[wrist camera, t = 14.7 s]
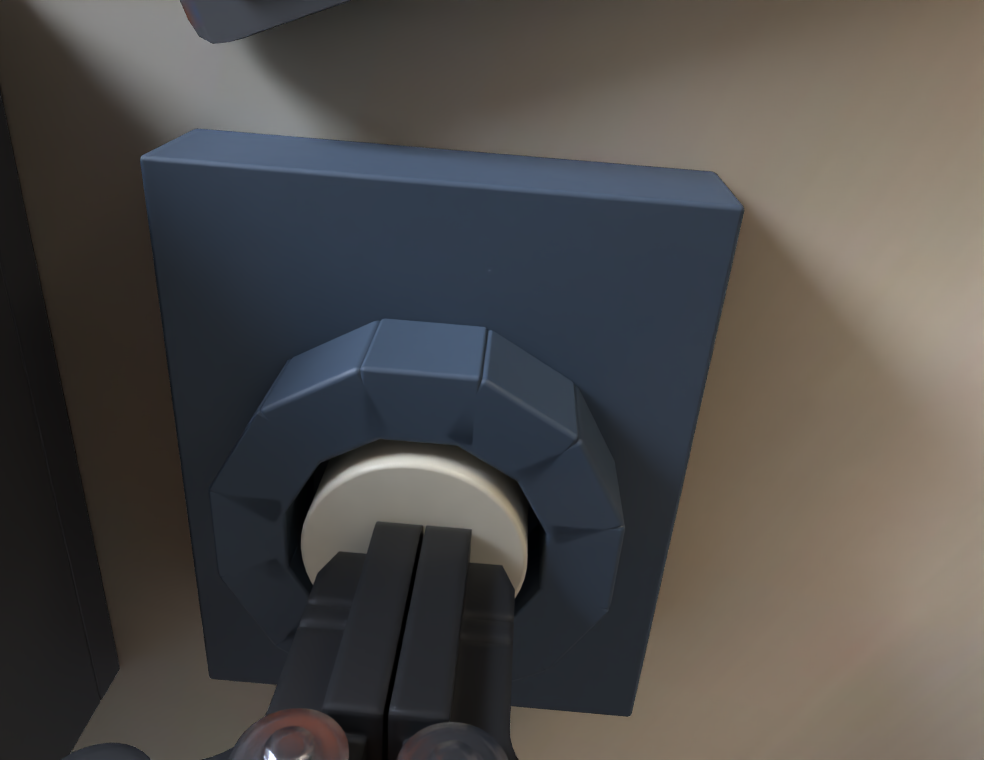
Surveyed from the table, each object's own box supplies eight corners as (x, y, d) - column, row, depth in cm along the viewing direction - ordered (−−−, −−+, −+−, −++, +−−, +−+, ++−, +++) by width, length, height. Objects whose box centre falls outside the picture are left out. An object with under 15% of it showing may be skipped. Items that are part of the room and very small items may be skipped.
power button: (322, 396, 13) (294, 454, 12) (538, 415, 13) (538, 475, 12) (327, 563, 15) (304, 633, 13) (519, 581, 15) (517, 652, 13)
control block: (193, 127, 14) (75, 186, 10) (716, 171, 14) (779, 245, 10) (241, 606, 19) (173, 755, 15) (621, 640, 19) (641, 797, 15)
